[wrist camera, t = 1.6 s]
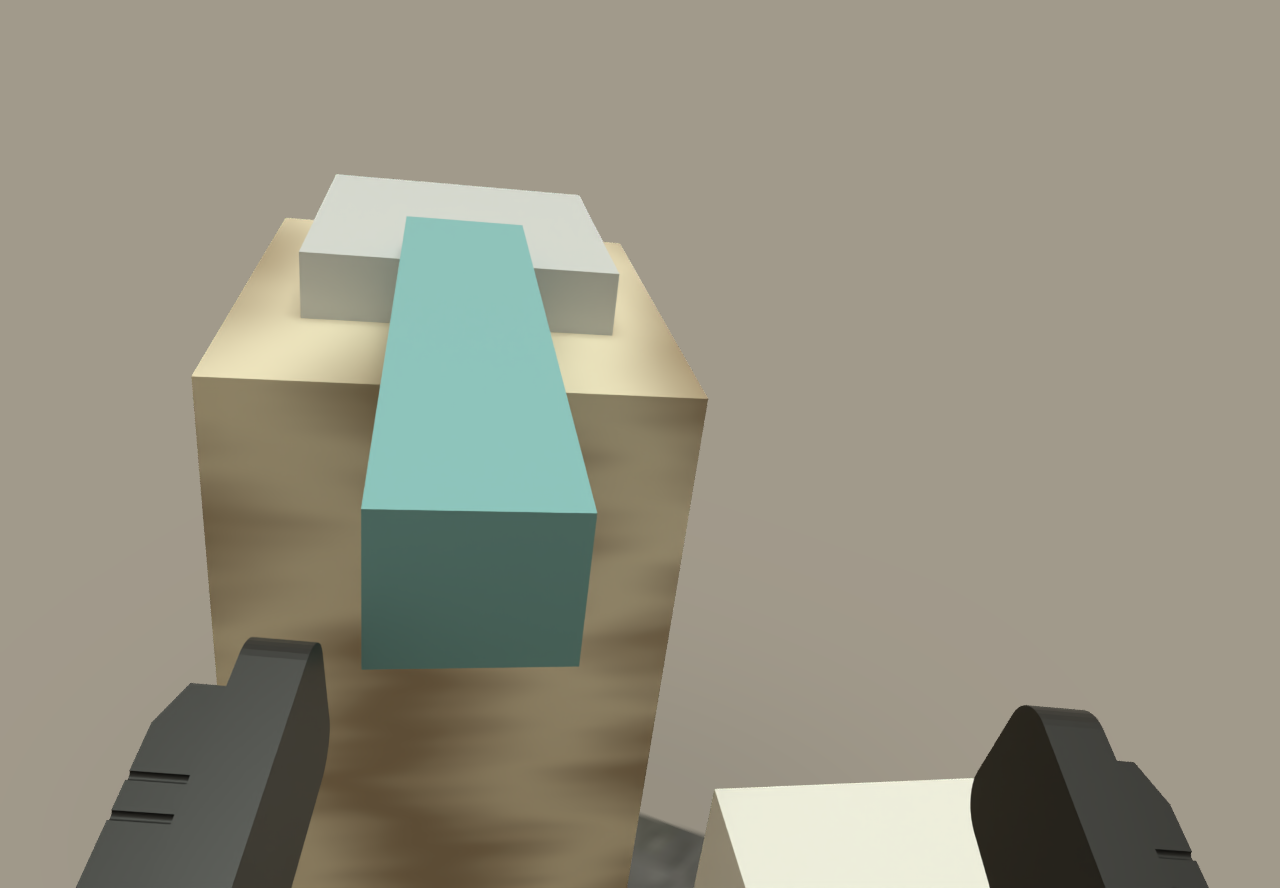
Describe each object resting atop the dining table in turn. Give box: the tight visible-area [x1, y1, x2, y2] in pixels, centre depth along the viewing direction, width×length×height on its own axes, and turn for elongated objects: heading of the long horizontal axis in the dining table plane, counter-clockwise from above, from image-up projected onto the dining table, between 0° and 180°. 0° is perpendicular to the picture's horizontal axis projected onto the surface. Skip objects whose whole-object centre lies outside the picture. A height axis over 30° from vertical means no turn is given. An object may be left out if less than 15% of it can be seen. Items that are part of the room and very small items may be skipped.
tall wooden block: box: [192, 218, 708, 888], centre depth 32 cm, size 10×12×32 cm
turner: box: [299, 174, 619, 670], centre depth 20 cm, size 7×20×2 cm, turn 10°
